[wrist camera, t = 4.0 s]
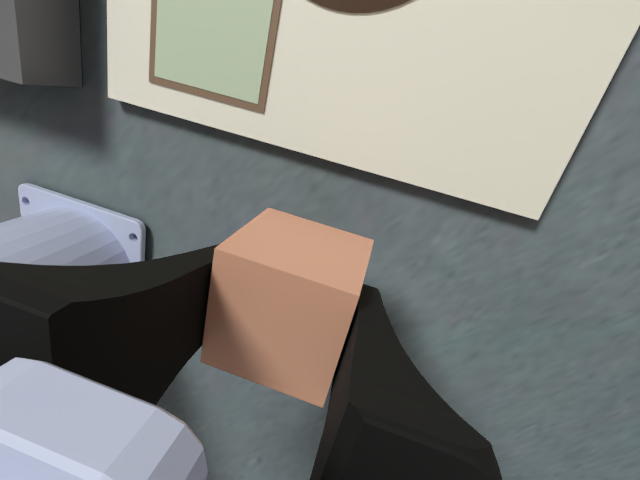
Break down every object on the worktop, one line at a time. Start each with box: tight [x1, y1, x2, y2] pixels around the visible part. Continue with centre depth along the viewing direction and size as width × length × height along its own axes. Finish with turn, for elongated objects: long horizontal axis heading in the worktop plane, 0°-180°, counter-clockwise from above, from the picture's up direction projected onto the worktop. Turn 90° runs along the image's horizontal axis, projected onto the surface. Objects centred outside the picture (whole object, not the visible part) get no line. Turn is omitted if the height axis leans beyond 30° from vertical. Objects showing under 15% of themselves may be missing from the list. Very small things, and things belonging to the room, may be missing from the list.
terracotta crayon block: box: [200, 208, 374, 408], centre depth 12 cm, size 4×4×4 cm
